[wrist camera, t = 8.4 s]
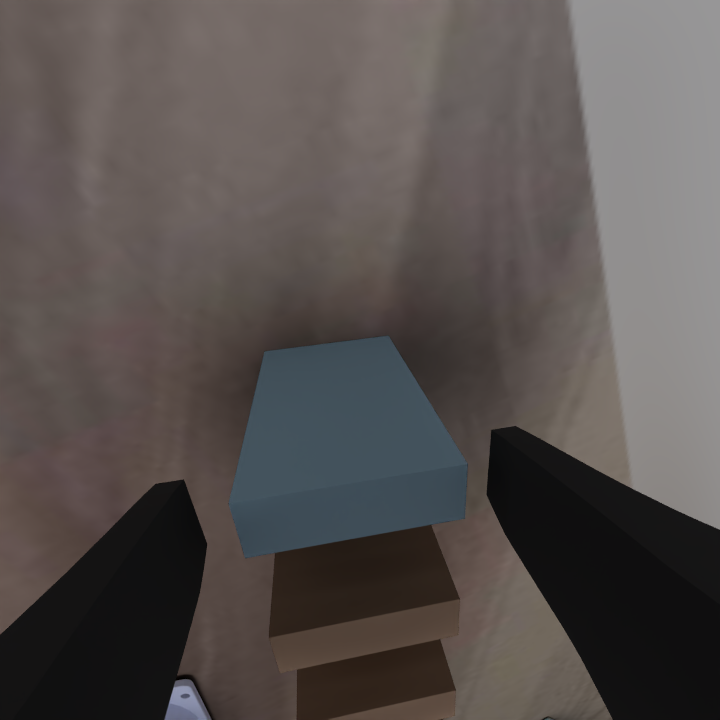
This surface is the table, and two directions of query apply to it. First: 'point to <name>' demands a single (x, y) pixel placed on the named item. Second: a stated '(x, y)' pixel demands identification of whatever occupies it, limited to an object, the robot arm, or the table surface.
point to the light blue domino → (341, 450)
